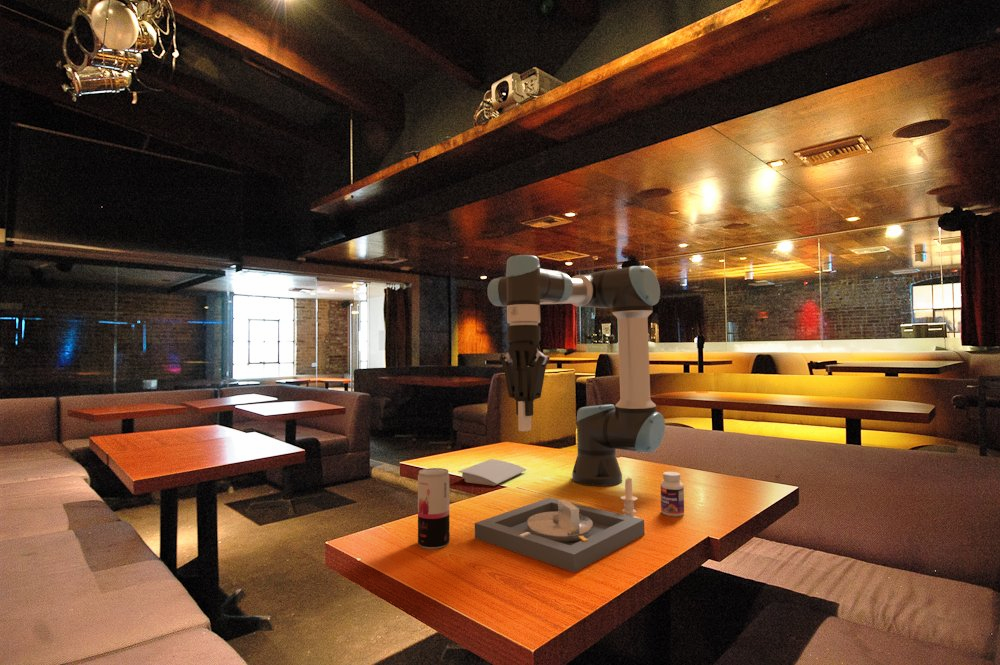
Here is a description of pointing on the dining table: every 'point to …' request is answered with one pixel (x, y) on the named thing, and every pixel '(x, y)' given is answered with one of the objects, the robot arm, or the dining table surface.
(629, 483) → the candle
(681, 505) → the pill bottle
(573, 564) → the panel
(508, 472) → the book
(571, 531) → the dial
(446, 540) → the beverage can
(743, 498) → the dining table surface
